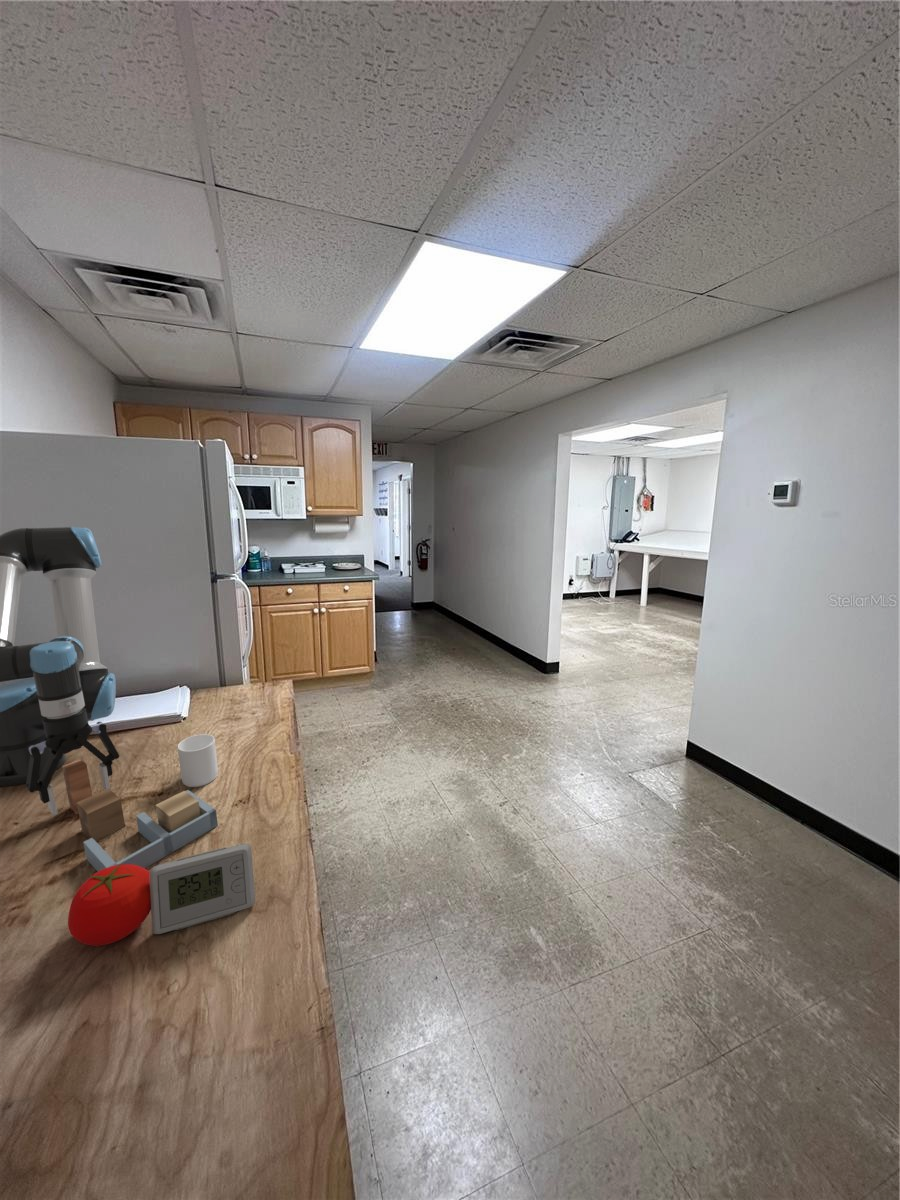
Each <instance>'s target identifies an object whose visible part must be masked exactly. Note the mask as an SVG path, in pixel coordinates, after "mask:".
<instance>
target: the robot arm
mask: <svg viewBox="0 0 900 1200" xmlns="http://www.w3.org/2000/svg"><path fill="white" fill-rule="evenodd" d="M102 567H103V564H102V560H101V555H100V552H99V549H98V545H97V542H96V540H95V537H94V534H93V532H92V530H90V529H89V528H87V527H83V526H82V527H81V526H80V527H77V526H76V527H75V526H74V527H73V526H68V527H65V526H64V527H35V528H34V527H33V528H32V527H29V528H28V527H21V528H15V529H11V530H8V531H7V532H4V533H2V534H0V683H3V682H8V681H9V682H10V681H13V682H10V683H6V684H4V685H2V686H0V787H9V786H16V785H21V784H25V788H26V790H27V791H29V792H30V793H35V792H38V794H39V798H40V801H41V802H42V803H43V804H46V803H47V806H48V811H49V812H50V813H51V815H53V816H57V815H58V814H59V812H58V809H57V808H58V807H57V803H56V800H55V799H56V798H55V794H54V793H55V792H54V788H53V786H51V785H50V783H51V781H52V778H53V776H54V775H55V772H56V770H58V769H59V768H62V766H64V765H65V762H66V760H67V758H66V754H68V753H71V752H72V751H75V750H79V749H81V748H82V747H84V748H85V749H86V750H88V751H89V752H90V753H92V754H93V755H94V756H95V757H96V758H98V760H100V761H101V762H99V763H98V765H97V766H98V770H99V775H100V776H99V777H100V781H101V788H102V789H103V791H104V790H107V789H110V790H111V786H110V785H111V784H110V778H109V777H111V776H112V775H113V768H112V765H113V761H114V760H117V759H119V758H120V754H119V752H118V750H117V748H116V747H115V745H114V744H113V741H112V740H111V738H110V736H109V734H108V732H107V730H108V729H107V725H106V724H105V723H104V722H103V721H97V722H96V724H92V725H90V724H89V721H90V722H92V721H95V720H99V719H103V718H107V717H109V716H111V714H112V713H113V712H114V710H115V704H116V693H117V688H116V687H117V685H116V675H115V673H112V672H110V673H109V671H108V669H109V668H108V666H105V665H104V664H102V663H101V659H100V650H99V642H98V634H97V625H96V616H95V609H94V608H95V607H94V599H93V590H92V582H91V581H92V579H93V578H94V577H95V576H96V575H97V569H99V568H102ZM28 572H42V577H43V578H45V579H46V580H48V581H50V583H51V592H52V603H53V612H54V613H53V614H54V623H55V630H56V637H55V638H53V639H51V640H49V641H46V642H45V641H44V642H39V643H38V642H37V643H31V644H20V645H15V642H16V641H15V640H16V631H17V622H18V621H17V620H18V613H19V612H18V611H19V603H20V594H21V593H20V592H21V583H22V581H23V580H24V579H25V578H26V577H27V574H28ZM20 679H21V680H20ZM92 732H93V733H95V735H97V736H98V738H99V740H100V741H101V742H102V744H103V746H104V748H105V749H106V751H107V753H108V754H107V755H105V754H104V753H102V752H101V750H99V749H98V748H97V747H96V746H94V745H93V744H92V743H91V742H89V741H88V738H89V737H90V736H91V734H92Z"/></svg>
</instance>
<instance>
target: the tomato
mask: <svg viewBox="0 0 900 1200" xmlns="http://www.w3.org/2000/svg"><path fill="white" fill-rule="evenodd" d="M149 874H150V871H149V870H148V869H147V868H143V867H140V866H137V865H132V864H125V865H121V864H120V865H115V866H111V867H108V868H105V869H103V870H100V871H99V872H98V871H97V872H95V873H94V874H92V875H89V876H88V877H89V878H87V879H86V881H84V882H83V884H81V885H80V887H79V888H78V889H77V891H76V892H75V894H74V896H73V898H72V900H71V903H70V907H69V911H68V917H67V926H68V930H69V933H70V935H71V936H72V938H73V939H74V940H75V941H78V942H79V943H81V944H84V945H87V946H93V947H94V946H96V947H101V946H105V945H109V944H113V943H115V942H118V941H121V940H123V939H124V938H126V937H127V936H129V935H130V934H132V933H133V932H135V930H136V929H137V928H139V927H140V926H141V925H142V924H143V923H144V921H145V920H146V919H147V917H148V916H149V915H150V913H151V899H150V881H149Z"/></svg>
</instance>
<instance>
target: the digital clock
mask: <svg viewBox="0 0 900 1200" xmlns="http://www.w3.org/2000/svg"><path fill="white" fill-rule="evenodd" d="M252 853H253V851H252V846H251V844H250V843H241V844H237V845H232V846H229V847H227V846H225V847H221V848H216V849H211V850H208V851H205V852H200V853H196V854H192V855H188V856H184V857H180V858H177V859H176V860H171V861H167V862H165V863H164V862H163V863H159V864H157V865H155V866H153V867H151V869H150V871H149V872H150V874H149V881H150V899H151V910H150V913H151V914H150V915H151V930H152V932H153V934H154V935H161V934H162V935H163V934H165V933H169V932H171V931H172V932H173V931H175V930H177V931H179V930H182V929H183V930H184V929H185V928H189V927H193V926H195V925H199V924H202V923H206V922H209V921H213V920H216V918H217V919H219V917H220V918H223V917H227V916H229V915H233V914H235V913H236V912H239V911H243V910H246V909H247V910H248V909H249V908H252V907H253V906H254V905H255V903H256V891H255V880H254V879H255V877H254V876H255V875H254V867H253V866H254V864H253V854H252Z"/></svg>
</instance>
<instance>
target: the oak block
mask: <svg viewBox="0 0 900 1200" xmlns="http://www.w3.org/2000/svg"><path fill="white" fill-rule="evenodd" d="M186 791H187V790H183V791H181V792H180V793H179V792H178V793H176V794H175V795H173V796H171V797H169V798H167V799H165V800H162V801H161V802H159V803H157V804H155V809H156V817H157V824H158V825H160V826H161V827H162V828H163V829H164V830H165V831H167V832H168V833H171V832H173V831H174V830H176V829H178V828H180V827H182V826H183V825H185V824H187V823H189V822H191V821H192V820H194V819H196V818H198V817H200V809H199V801H198V800H197V799H195V798H194V797H192V796H191V795H190V794H188V793H187V792H186Z"/></svg>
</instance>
